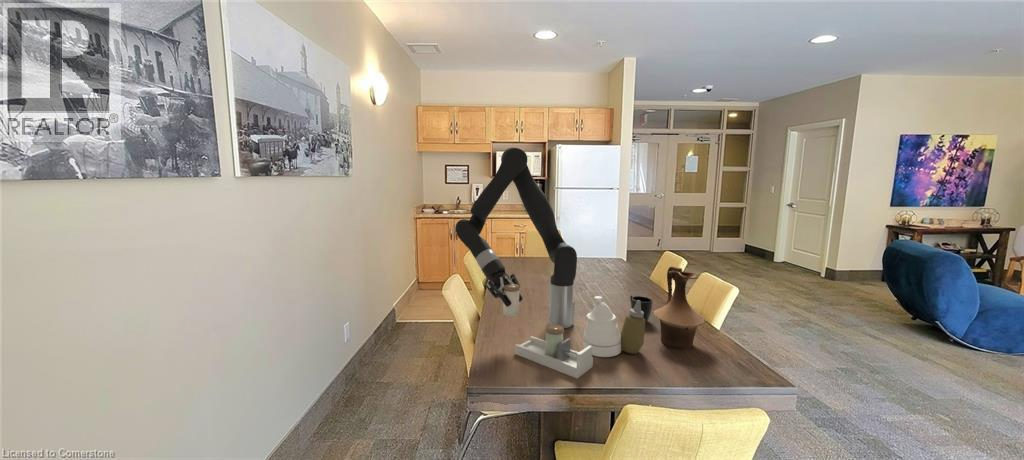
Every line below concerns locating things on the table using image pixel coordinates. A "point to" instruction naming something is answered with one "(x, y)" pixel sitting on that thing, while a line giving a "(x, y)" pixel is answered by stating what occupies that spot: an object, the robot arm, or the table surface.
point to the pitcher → (678, 312)
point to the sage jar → (553, 339)
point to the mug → (642, 305)
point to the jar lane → (569, 366)
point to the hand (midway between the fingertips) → (515, 302)
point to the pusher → (564, 350)
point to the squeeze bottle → (633, 330)
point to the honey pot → (602, 331)
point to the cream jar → (512, 300)
